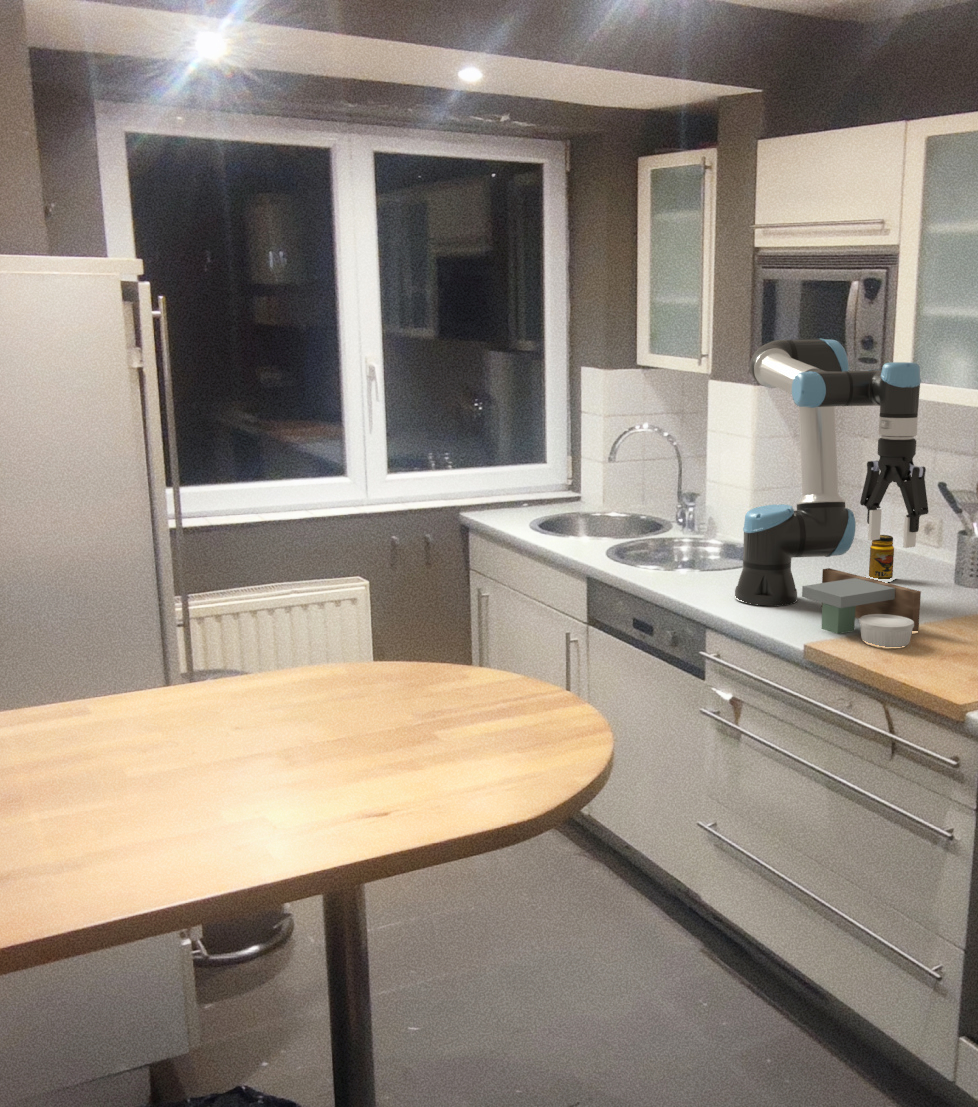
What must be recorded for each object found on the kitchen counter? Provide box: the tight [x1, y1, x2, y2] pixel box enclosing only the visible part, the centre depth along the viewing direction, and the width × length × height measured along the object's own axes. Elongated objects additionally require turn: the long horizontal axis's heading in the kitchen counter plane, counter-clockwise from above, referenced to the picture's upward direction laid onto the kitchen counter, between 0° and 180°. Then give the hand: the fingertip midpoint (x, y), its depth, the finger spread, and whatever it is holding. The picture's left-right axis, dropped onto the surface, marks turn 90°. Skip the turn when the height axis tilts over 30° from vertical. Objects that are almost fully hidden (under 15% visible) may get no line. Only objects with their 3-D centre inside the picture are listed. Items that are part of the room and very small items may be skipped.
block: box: [820, 603, 856, 635], centre depth 248 cm, size 5×5×6 cm
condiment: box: [868, 534, 895, 579], centre depth 295 cm, size 7×8×12 cm
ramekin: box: [858, 614, 914, 647], centre depth 237 cm, size 11×11×5 cm
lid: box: [801, 578, 895, 608], centre depth 248 cm, size 12×16×2 cm
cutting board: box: [820, 567, 922, 632], centre depth 256 cm, size 28×2×10 cm, turn 27°
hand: (891, 543), depth 235 cm, fingers open, 9 cm apart
